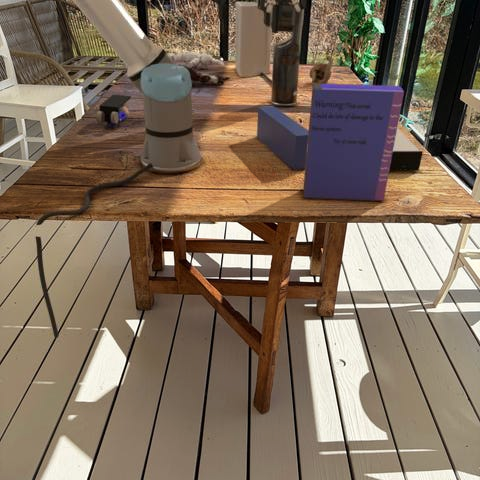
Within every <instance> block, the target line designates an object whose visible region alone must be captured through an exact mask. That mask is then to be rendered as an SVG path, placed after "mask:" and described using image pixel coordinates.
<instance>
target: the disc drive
mask: <svg viewBox="0 0 480 480" xmlns="http://www.w3.org/2000/svg"><path fill="white" fill-rule="evenodd" d="M423 153H424V152H423V151H422V150H420V149H419V148H418V147H417V146H416V145H415V144H414V143H413V142H412V141H411V140H410V139H409V138H408V137H407V136H406V135H405V134H404V133H403V132H402V130H400V128H399V127H397V132H396V137H395V142H394V148H393V153H392V158H391V164H390V169H389V172H391V171H393V172H394V171H396V172H397V171H398V172H399V171H400V172H401V171H404V172H405V171H406V172H408V171H411V172H412V171H415V172H416V171H417V172H418V171H420V166H421V163H422V158H423Z"/></svg>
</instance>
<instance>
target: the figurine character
mask: <svg viewBox="0 0 480 480" xmlns="http://www.w3.org/2000/svg"><path fill="white" fill-rule="evenodd" d="M131 98H132V96H131V95H122V94H111V96H110V97H108V98H107V99H105V100H104V101H103V102H101V104H99V110H98V111H96V115H95V119H96V123H98V124H103V123H106V124H105V125H104V127H103V128H104V129H107V128H108V127H110V126H113V127H112V129H114V130H115V129H116V128H117V127H118V126H119V124H120V123H121V122H122V121H124V120H126V119H127V117H128V116H129V114H130V110H129V107H128V106H127V104H126V103H127V102H128V101H129V100H130V99H131Z"/></svg>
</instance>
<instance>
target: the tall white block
mask: <svg viewBox="0 0 480 480" xmlns="http://www.w3.org/2000/svg"><path fill="white" fill-rule="evenodd" d="M266 4H267V2H265V5H266ZM257 7H258V2H252V1H235V59H234V60H235V62H234V63H235V65H234V66H235V68H234V69H235V71H236V73H237V75H238V77H239V78H253V77H257V76H259V75H260V76H262V75H261V72H262V73H263V74H265V75H266V74H270V73H271V56H272V55H271V54H272V33H273V32H272V29H271V24H270V27H266V26H265V24H264V12H263V11H262V10H259V9H258V8H257ZM270 13H271V10H270Z"/></svg>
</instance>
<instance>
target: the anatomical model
mask: <svg viewBox="0 0 480 480" xmlns="http://www.w3.org/2000/svg"><path fill="white" fill-rule="evenodd" d="M325 60H326V61H328V63H323V62H320V61H317V62H316V63H314V65H313V66H312V67H311V69H310V70H309V77H310V78H311V82H312V84H328V81H329V80H330V79H331V76H332V67H333V63H334V58H333V57H332V56H330V55H327V56H326V57H325Z"/></svg>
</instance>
